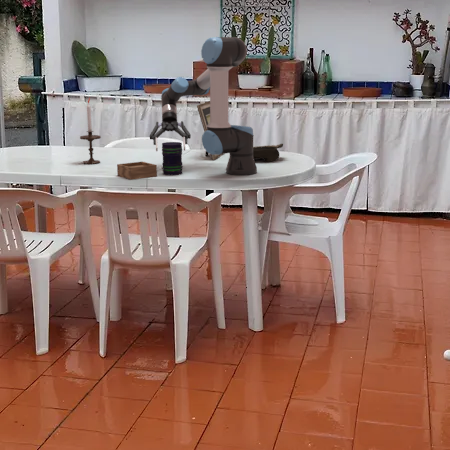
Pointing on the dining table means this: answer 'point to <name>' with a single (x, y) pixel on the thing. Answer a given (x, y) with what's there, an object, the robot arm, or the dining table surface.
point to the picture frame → (206, 120)
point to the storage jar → (172, 158)
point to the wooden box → (137, 170)
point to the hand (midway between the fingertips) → (170, 149)
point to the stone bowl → (267, 152)
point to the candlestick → (90, 137)
